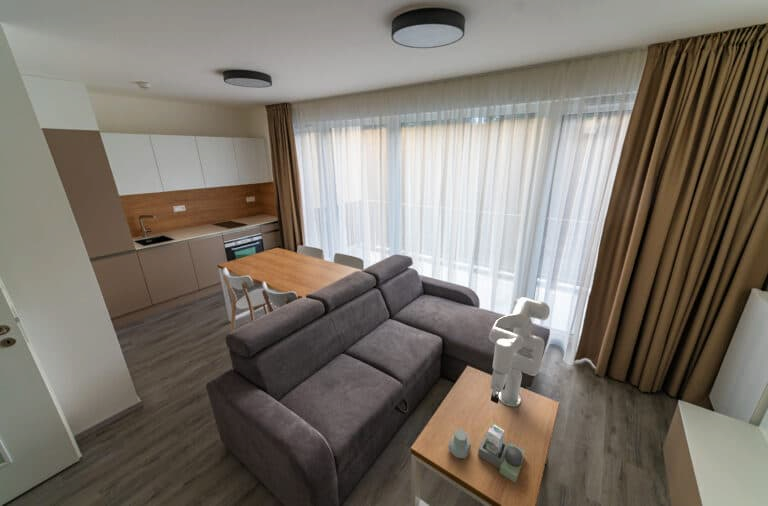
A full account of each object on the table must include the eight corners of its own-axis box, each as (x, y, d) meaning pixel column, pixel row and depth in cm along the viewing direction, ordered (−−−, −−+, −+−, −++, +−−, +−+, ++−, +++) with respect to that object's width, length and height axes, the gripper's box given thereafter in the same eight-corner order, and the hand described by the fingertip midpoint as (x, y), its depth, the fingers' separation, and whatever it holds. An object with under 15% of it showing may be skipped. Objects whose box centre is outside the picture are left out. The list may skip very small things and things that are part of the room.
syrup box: (501, 452, 135) (505, 429, 130) (496, 462, 131) (500, 438, 126) (489, 444, 139) (492, 422, 134) (484, 453, 135) (487, 431, 130)
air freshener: (455, 436, 143) (457, 421, 140) (472, 446, 138) (474, 431, 135) (446, 454, 135) (447, 438, 131) (462, 465, 130) (464, 449, 127)
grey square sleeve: (487, 436, 143) (488, 425, 141) (524, 457, 133) (526, 446, 130) (476, 458, 133) (477, 447, 130) (515, 483, 122) (518, 471, 120)
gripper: (499, 351, 135) (495, 379, 142) (486, 373, 123) (483, 403, 129) (516, 357, 131) (511, 386, 137) (504, 381, 118) (500, 412, 125)
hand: (497, 394), depth 133 cm, fingers open, 9 cm apart
